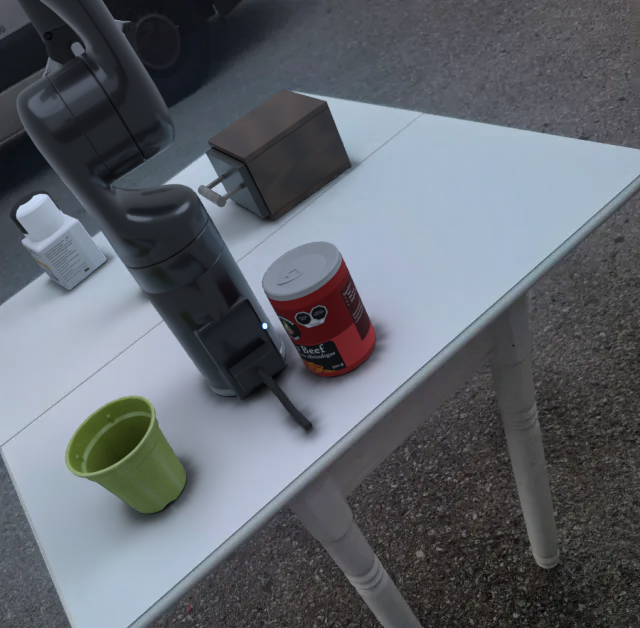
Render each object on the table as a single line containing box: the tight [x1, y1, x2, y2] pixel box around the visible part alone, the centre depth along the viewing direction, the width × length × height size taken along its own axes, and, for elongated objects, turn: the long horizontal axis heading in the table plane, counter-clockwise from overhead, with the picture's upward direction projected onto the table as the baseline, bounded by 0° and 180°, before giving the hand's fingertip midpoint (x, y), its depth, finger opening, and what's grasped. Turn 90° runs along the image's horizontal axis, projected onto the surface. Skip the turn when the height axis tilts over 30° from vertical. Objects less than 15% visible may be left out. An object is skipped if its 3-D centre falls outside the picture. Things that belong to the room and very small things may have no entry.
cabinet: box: [207, 88, 353, 221], centre depth 100 cm, size 14×13×10 cm
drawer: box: [197, 147, 270, 219], centre depth 99 cm, size 17×11×8 cm
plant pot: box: [64, 394, 187, 515], centre depth 67 cm, size 9×9×9 cm
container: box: [9, 189, 107, 291], centre depth 107 cm, size 8×8×13 cm
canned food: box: [261, 240, 376, 378], centre depth 69 cm, size 8×8×11 cm
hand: (130, 122), depth 88 cm, fingers closed
